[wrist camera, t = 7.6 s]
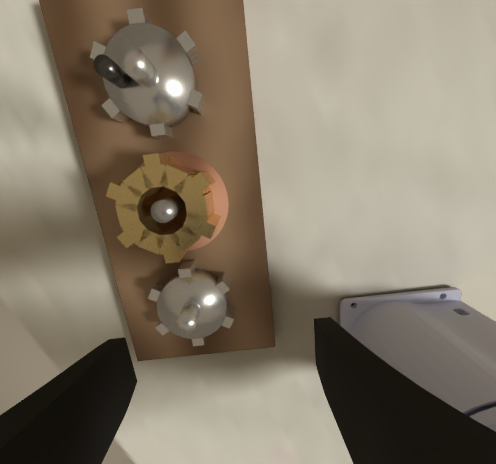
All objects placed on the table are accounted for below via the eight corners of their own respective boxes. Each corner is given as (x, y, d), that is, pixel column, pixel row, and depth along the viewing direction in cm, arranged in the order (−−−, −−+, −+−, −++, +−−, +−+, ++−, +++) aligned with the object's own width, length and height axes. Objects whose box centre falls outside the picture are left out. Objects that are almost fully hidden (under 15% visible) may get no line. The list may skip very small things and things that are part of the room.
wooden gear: (224, 242, 16) (220, 257, 13) (145, 250, 16) (124, 267, 13) (212, 152, 15) (204, 147, 12) (125, 162, 15) (96, 160, 12)
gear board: (240, -14, 14) (240, -33, 12) (273, 336, 20) (275, 347, 18) (54, 8, 14) (35, -8, 12) (144, 349, 20) (137, 362, 18)
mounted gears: (195, 21, 13) (180, -28, 10) (237, 327, 18) (236, 361, 15) (97, 32, 13) (50, -13, 10) (167, 335, 18) (150, 370, 15)
